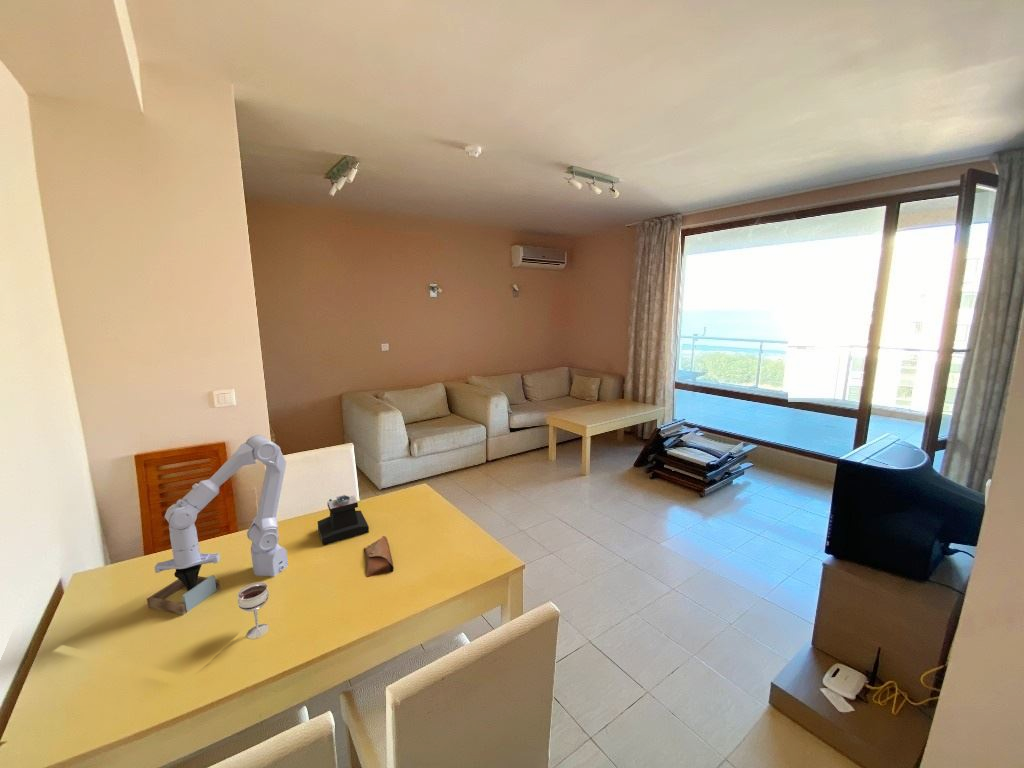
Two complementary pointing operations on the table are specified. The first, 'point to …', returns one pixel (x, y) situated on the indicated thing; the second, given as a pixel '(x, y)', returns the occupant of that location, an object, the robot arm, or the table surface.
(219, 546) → the table surface
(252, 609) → the wineglass
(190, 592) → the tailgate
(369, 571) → the sunglasses case
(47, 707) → the table surface
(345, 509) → the camera
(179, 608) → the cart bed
